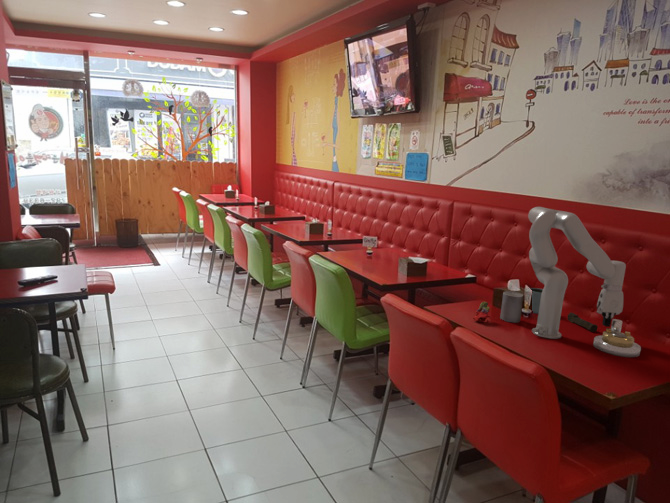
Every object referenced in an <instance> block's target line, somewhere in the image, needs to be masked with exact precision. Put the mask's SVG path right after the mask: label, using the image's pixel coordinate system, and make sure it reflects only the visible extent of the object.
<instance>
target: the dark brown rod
mask: <svg viewBox="0 0 670 503" xmlns="http://www.w3.org/2000/svg"><path fill="white" fill-rule="evenodd" d="M567 320H568V321H569V322H571V323H572V324H576V325H578V326H581V327H583V329H584V328H585V329H586V330H587V331H588V330H589V332H591V333H594V332H597V330H598V328H599V325H597V324H593V323H592V322H590V321H587V320H585V319H583V318H581V317H579V315H578V314H576V313H574V312H569V313H568V314H567Z"/></svg>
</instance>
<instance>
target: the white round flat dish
mask: <svg viewBox="0 0 670 503" xmlns="http://www.w3.org/2000/svg"><path fill="white" fill-rule="evenodd" d="M602 336H603V334H602V335H596V336H595V337H594V338H593V344H592V346H593V347H594V348H595V349H597V350H599V351H601V352H602V353H606V354H609V355H612V356H616V357H617V356H618V357H623V358H637V357H640V355H641V351H642V347H641V345H640V344H638V343H636V342H635V341H634V343H633V346H632V347H620V346H615V345H611V344H609V343H606V342H604V341H603V340H602Z"/></svg>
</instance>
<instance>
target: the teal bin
mask: <svg viewBox="0 0 670 503" xmlns="http://www.w3.org/2000/svg"><path fill="white" fill-rule="evenodd" d="M530 289H531V290H532V292H533V293H532V311H533V313H532V314H535V315H536V314H537V315H538V314H539V307H540V299H541V294H542V291H543V289H544V288H538V287H530Z"/></svg>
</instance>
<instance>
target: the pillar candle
mask: <svg viewBox="0 0 670 503" xmlns="http://www.w3.org/2000/svg"><path fill="white" fill-rule="evenodd" d="M501 300H502V302H501V308H500V316H499V319H500V320H501V319H502V321H503V320H504V322H506V323H515V324H516V323H517V324H518V323H520V322H521V320H522V319H521V317H522V310H523V309H522V308H523V300H524V294H523V293H521V292H517V291H511V290H507V291H503V293H502V299H501Z"/></svg>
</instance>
